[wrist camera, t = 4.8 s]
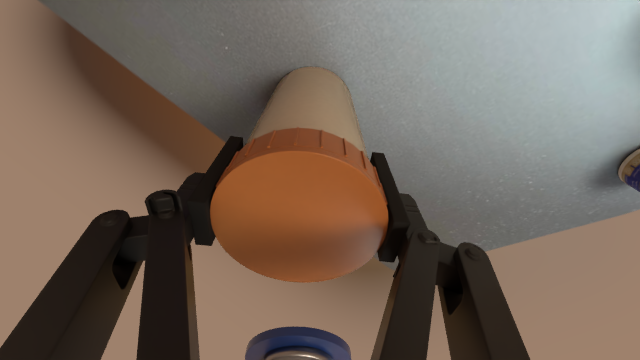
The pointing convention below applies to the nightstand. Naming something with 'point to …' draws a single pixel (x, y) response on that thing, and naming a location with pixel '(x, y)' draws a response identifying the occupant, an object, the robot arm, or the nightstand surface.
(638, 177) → the pill bottle
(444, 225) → the nightstand surface
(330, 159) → the jar lid
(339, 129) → the jar
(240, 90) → the nightstand surface
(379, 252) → the robot arm
